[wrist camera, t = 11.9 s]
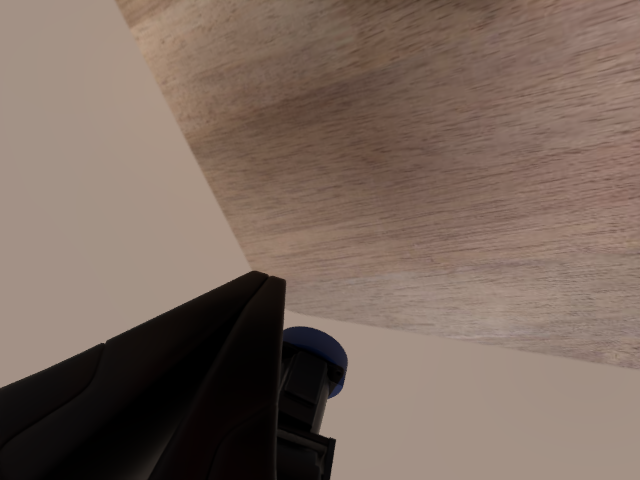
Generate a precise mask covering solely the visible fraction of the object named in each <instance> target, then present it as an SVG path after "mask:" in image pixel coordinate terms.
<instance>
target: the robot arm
mask: <svg viewBox="0 0 640 480" xmlns="http://www.w3.org/2000/svg"><path fill="white" fill-rule="evenodd" d="M285 294H286V280H285V279H282V278H279V277H275V276H269V275H268V274H265V273H262V272H259V271H251V272H249V273H247V274H245V275H243V276H240V277H238V278H236V279H235V280H232V281H230V282H228V283H226V284H224V285H222V286H220V287H218V288H216V289H213V290H211V291H209V292H207V293H205V294H203V295H201V296H199V297H197V298H195V299H193V300H191V301H188V302H186V303H184V304H182V305H180V306H178V307H176V308H174V309H172V310H170V311H168V312H165V313H163V314H161V315H159V316H157V317H155V318H153V319H151V320H149V321H147V322H145V323H143V324H140V325H138V326H136V327H134V328H132V329H130V330H128V331H126V332H124V333H122V334H120V335H118V336H115V337H113V338H111V339H109V340H107V341H106V343H105V344H104V343H101V344H98V345H96V346H94V347H92V348H90V349H88V350H86V351H84V352H82V353H80V354H77V355H75V356H73V357H71V358H69V359H66V360H64V361H62V362H60V363H58V364H56V365H54V366H51V367H49V368H47V369H45V370H42V371H40V372H38V373H35V374H33V375H30V376H28V377H26V378H24V379H21V380H19V381H16V382H14V383H11V384H9V385H7V386H4V387H2V388H0V480H330V476H331V468H332V463H333V456H334V450H335V443H336V439H333V438H331V437H330V438H327V437H324V436H321V435H319V430H320V427H321V423H322V418H323V415H324V410H325V406H326V402H327V399H328V397H329V396H330V394H331V393H332V392H333V390H334V389H335V387H336V386H337V384H338V383H339V381H340V380H341V378H342V377H343V375H344V369H343V368H342V367H341V366H339V365H336V364H334V363H332V362H330V361H328V360H326V359H323V358H321V357H319V356H317V355H315V354H313V353H310V352H308V351H306V350H304V349H302V348H300V347H297V346H295V345H293V344H291V343H289V342H286V341H282V340H283V324H284V309H285Z"/></svg>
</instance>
